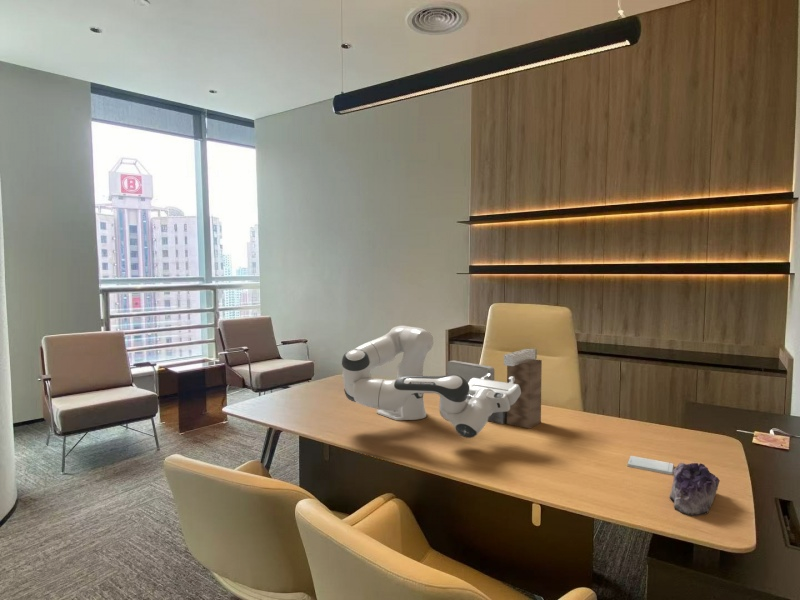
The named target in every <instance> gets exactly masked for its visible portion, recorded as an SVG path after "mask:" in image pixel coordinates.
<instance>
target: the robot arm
mask: <svg viewBox="0 0 800 600" xmlns="http://www.w3.org/2000/svg"><path fill="white" fill-rule="evenodd" d="M433 346H434V337H433V334H432V333H431V332H430V331H428V330H426V329H424V328H422V327H416V326H408V325H398V326H397V325H396V326H394V327H392V328H391V329H390V331H388V332H387V333H386V334H384V335H382V336H379V337H377V338H374V339H373V340H369V341H367V342H365V343H362V344H360V345H359V346H356V347H355V348H352V349H350V350H347V352H345V353H344V354H343V356H342V359H341V366H342V368H341V373H342V374H341V376H342V382H343V388H344V389H343V391H344V395H345V396H346V398H347V399H348V400H350V401H351V402H354V403H357V404H359V405H362V406H365V407H366V408H371V409H374V410H376V414H378V415H380V416H383V417H386V418H388V419H389V418H390V419H392V420H395V421H415V420H422V419H424V418H426V417H427V416H428V415H427V412H426V408H425V400H424V395H425V394H436V395H439V410H438V411H439V414H440V416H441V418H443V419H444V420H445V421H447V422H450V424H451V425H452V426H453V427H454V429H455V432H456V433H457V434H459V435H460V436H461V437H464V438H466V439H467V438H468V439H470V438H474V437H476V436H478V434H479V433H481V431H482V430H483V429H484V427H485V426H486V424H487V423H488V422H489V421H488V417H489V416H490V415H491V414H492V413H496V412H506V411H509V410H510V405H513V404H514V403H515V402H516V401H517V399H518V398H519V396H520V394H521V389H520V387H519V385H518V384H514V381H515V378H514V377H513V376H510V378H509V383H507V381H506V382H504V381H497V380H494V381H492V380H491V378H492V374H491V373H487V375H486V376H484V377H482V378H481V379H479V378H472V379H470V381H469V382H467V381H466V380H465V379H464V378H463V377H461V376H458V375H447V374H445V375H439V376H438V375H437V376H436V375H424V364H425V360H426V357H427V355H428V353H429V352H430V351H431V350H432V347H433ZM401 353H402V354H403V355H402V359H401V361H400V362H399V363H398V365H397V367H396V369H397V376H396V377H397V378H396V379H384V378H375V377H372V373H371V371H372V370H373V369H375V368H378V367H382V366H384V365H385V364H388V363H390V362H392V361H394V359H396V357H397V356H398V355H400V354H401ZM488 379H490V380H488ZM467 398H471V399H470V400H468V399H467Z"/></svg>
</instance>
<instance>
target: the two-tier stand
mask: <svg viewBox="0 0 800 600" xmlns="http://www.w3.org/2000/svg"><path fill="white" fill-rule="evenodd" d="M542 365H543V364H542V359H534V360H531V361H528V362H525V363H522V364H518V365H515V366H508V365H506V370H507V371H506V383H509V378H510V376H513V377H514V378H515V381H514V384H518V385H519V387H520V389H521V394H520V396H519V398H518V399H517V401H516V402H515V403H514V404H513V405H510V410H509V411H506V412H496V413H492V414H491V415H490V416H489V417H488V421H487V422H491V423H496V424H499V425H500V424H501V425H504V424H507V425H511V426H516V427H521V428H525V429H531V428H533V427H535V426H537V425H539V424H540V423H541V422H542V371H543V370H542V368H543V367H542ZM538 423H539V424H538Z"/></svg>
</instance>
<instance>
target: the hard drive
mask: <svg viewBox="0 0 800 600" xmlns="http://www.w3.org/2000/svg"><path fill="white" fill-rule="evenodd" d="M627 467H629V468H631V469H632V468H634V469H637V470H643V471H648V472H655V473H659V474H664V475H670V476H673V475H674V474H673V469H674V463H671V462H667V461H661V460H656V459H651V458H645V457H639V456H634V455H630V456H629V459H628V462H627Z"/></svg>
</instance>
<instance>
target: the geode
mask: <svg viewBox="0 0 800 600" xmlns="http://www.w3.org/2000/svg"><path fill="white" fill-rule="evenodd" d="M672 475H673V481H672V486H671V492H670V494H669V499H670V500H671V501H673V506H674V511H677V512H678V513H680V514H681V515H685V516H687V517H697V516H705V515H706V514H708V513H709V511H710V510H711V507H712V505H713V504H714V500H715V497H716V494H717V491H718V489H719V488H718V487H719V484H720V479H719V477H718V476H716V475H715V474H713V473H712V472H711V471H709V468H708V467H707V466H706V465H705V464H703V463H701V462H700V463H698V462H694V463H693V462H691V463H688V464H686V463H684V462H680V463H678V465H676V467H675V468H673V474H672Z"/></svg>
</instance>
